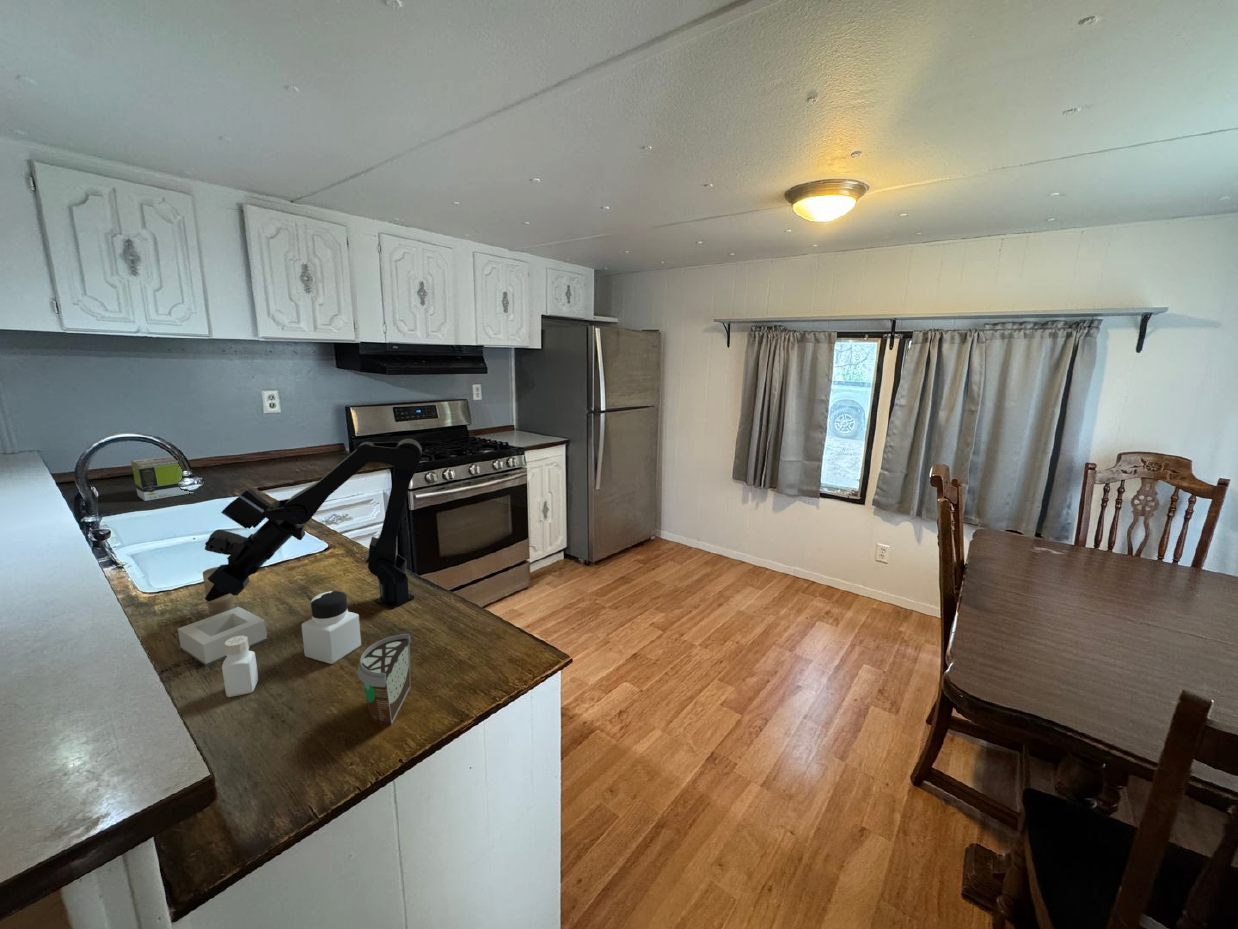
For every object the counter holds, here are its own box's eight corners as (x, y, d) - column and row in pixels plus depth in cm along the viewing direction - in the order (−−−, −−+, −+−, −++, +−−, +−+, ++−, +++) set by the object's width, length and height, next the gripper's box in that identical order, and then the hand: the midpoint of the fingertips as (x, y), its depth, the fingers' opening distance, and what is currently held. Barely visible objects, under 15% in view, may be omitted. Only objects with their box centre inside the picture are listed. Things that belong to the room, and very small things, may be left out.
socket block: (267, 640, 102) (264, 620, 101) (206, 666, 93) (203, 644, 92) (241, 625, 107) (238, 606, 106) (181, 649, 98) (177, 628, 97)
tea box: (186, 489, 205) (180, 454, 202) (194, 493, 199) (188, 457, 196) (136, 496, 193) (130, 459, 190) (143, 501, 187) (137, 463, 184)
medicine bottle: (362, 645, 101) (357, 591, 99) (331, 665, 94) (326, 607, 92) (335, 638, 103) (330, 584, 101) (304, 657, 97) (297, 600, 94)
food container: (378, 682, 90) (374, 632, 88) (413, 682, 90) (410, 632, 88) (347, 733, 78) (342, 676, 76) (388, 731, 78) (384, 675, 76)
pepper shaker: (225, 699, 84) (217, 649, 82) (232, 685, 88) (225, 636, 86) (253, 694, 86) (247, 644, 84) (259, 680, 90) (253, 632, 88)
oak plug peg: (240, 620, 109) (233, 569, 106) (216, 629, 105) (208, 576, 102) (230, 615, 111) (222, 564, 108) (206, 623, 107) (198, 571, 104)
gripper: (246, 505, 113) (193, 556, 111) (214, 533, 96) (151, 593, 94) (290, 535, 117) (240, 584, 116) (267, 566, 100) (207, 624, 99)
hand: (211, 595), depth 106 cm, fingers closed on oak plug peg, 4 cm apart
